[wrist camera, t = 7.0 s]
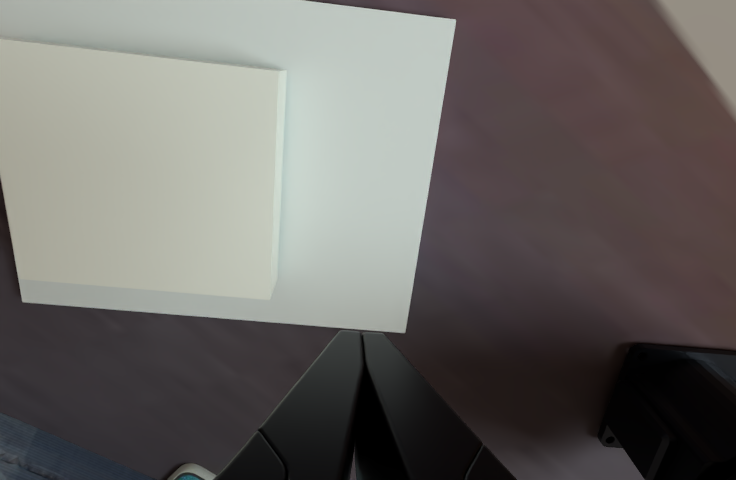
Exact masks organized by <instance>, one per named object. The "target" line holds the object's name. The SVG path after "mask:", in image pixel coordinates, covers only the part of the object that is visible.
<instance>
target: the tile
mask: <svg viewBox="0 0 736 480" xmlns="http://www.w3.org/2000/svg"><path fill="white" fill-rule="evenodd" d="M286 73H287V70H283V69H274V68H265V67H257V66H248V65H240V64H231V63H222V62H214V61H205V60H197V59H188V58H179V57H171V56H162V55H154V54H145V53H136V52H128V51H119V50H111V49H102V48H93V47H85V46H76V45H68V44H59V43H50V42H42V41H33V40H25V39H15V38H0V174H1V179H2V185H3V191H4V196H5V202H6V208H7V213H8V219H9V225H10V230H11V236H12V241H13V247H14V253H15V258H16V264H17V270H18V275H19V279H25V280H36V281H48V282H60V283H72V284H84V285H96V286H108V287H120V288H132V289H144V290H156V291H167V292H179V293H191V294H203V295H215V296H227V297H239V298H251V299H263V300H270V298H271V295H272V292H273V290H274V287H275V284H276V281H277V274H278V252H279V229H280V207H281V185H282V162H283V140H284V118H285V96H286Z"/></svg>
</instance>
